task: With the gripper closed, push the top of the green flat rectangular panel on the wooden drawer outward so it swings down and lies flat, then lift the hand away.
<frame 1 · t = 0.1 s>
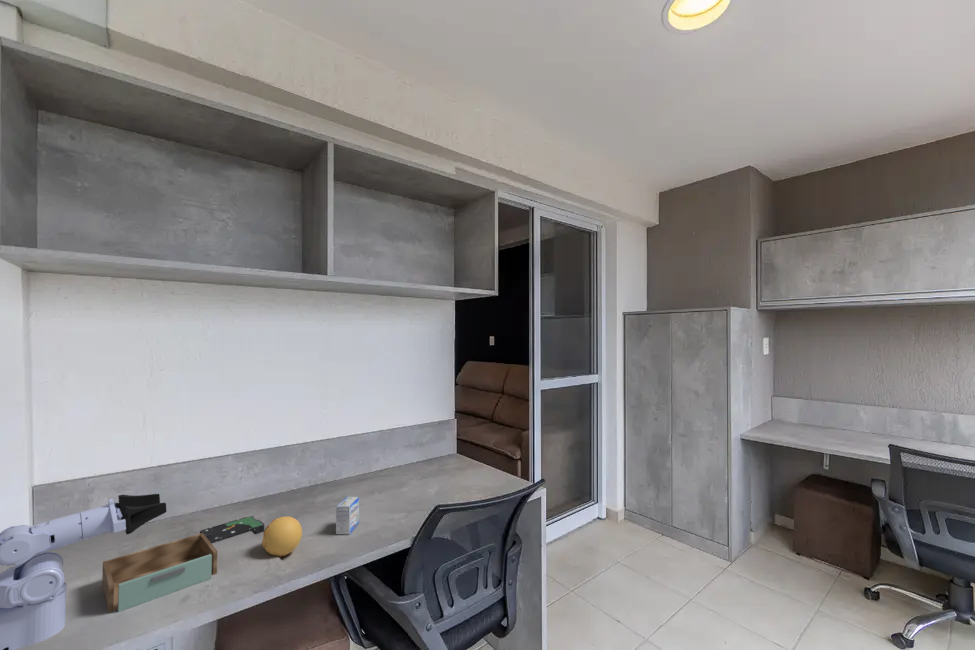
hand: (162, 502, 97), 22 cm above the table, tool horizontal, fingers open, 7 cm apart
wooden drawer: (160, 585, 100), on the table
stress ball: (282, 554, 115), on the table
disk drive: (232, 536, 126), on the table
green flat rectangular panel: (168, 581, 95), point 4 cm above the table, hinge at 0.0°
medicine box: (347, 529, 130), on the table
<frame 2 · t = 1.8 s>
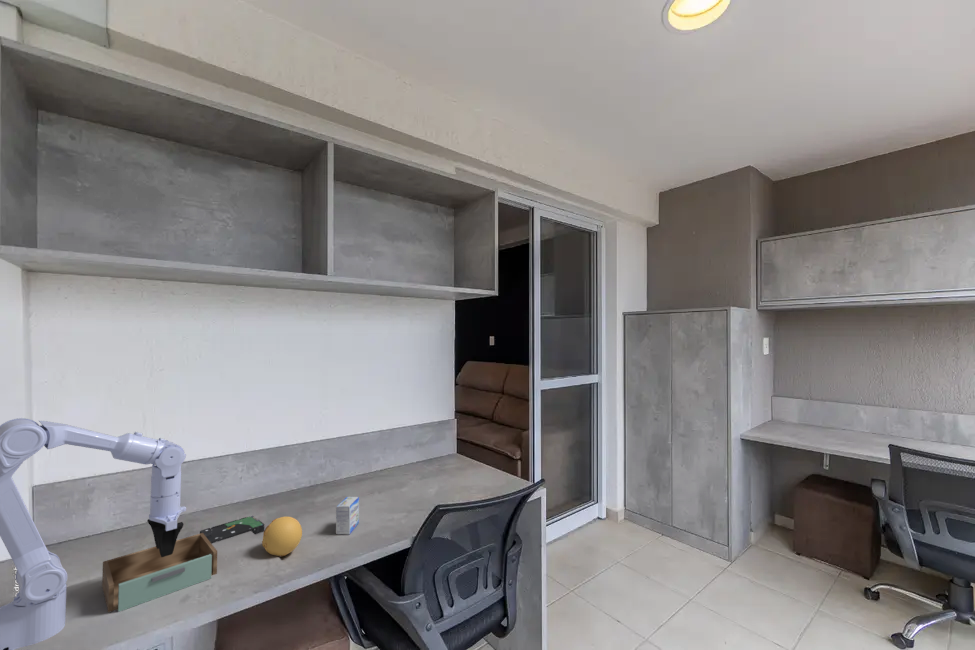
hand: (164, 551, 98), 9 cm above the table, tool pointing down, fingers open, 5 cm apart
nothing on the table moved.
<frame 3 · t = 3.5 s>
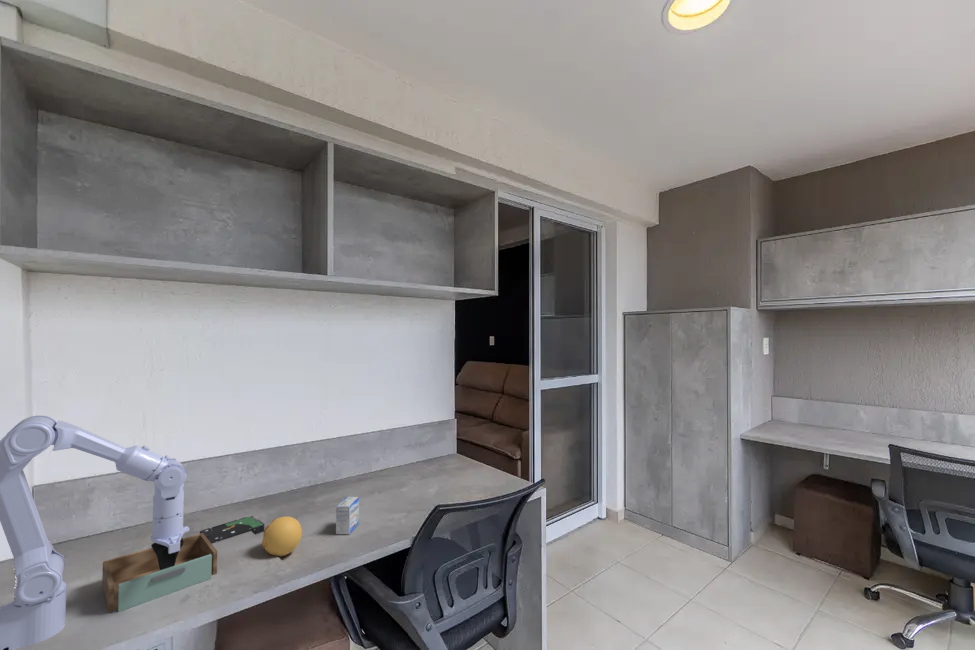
hand: (166, 573, 96), 6 cm above the table, tool pointing down, fingers closed, pressing on green flat rectangular panel
green flat rectangular panel: (168, 581, 95), point 4 cm above the table, hinge at 0.1°, touching gripper
everything else where it was.
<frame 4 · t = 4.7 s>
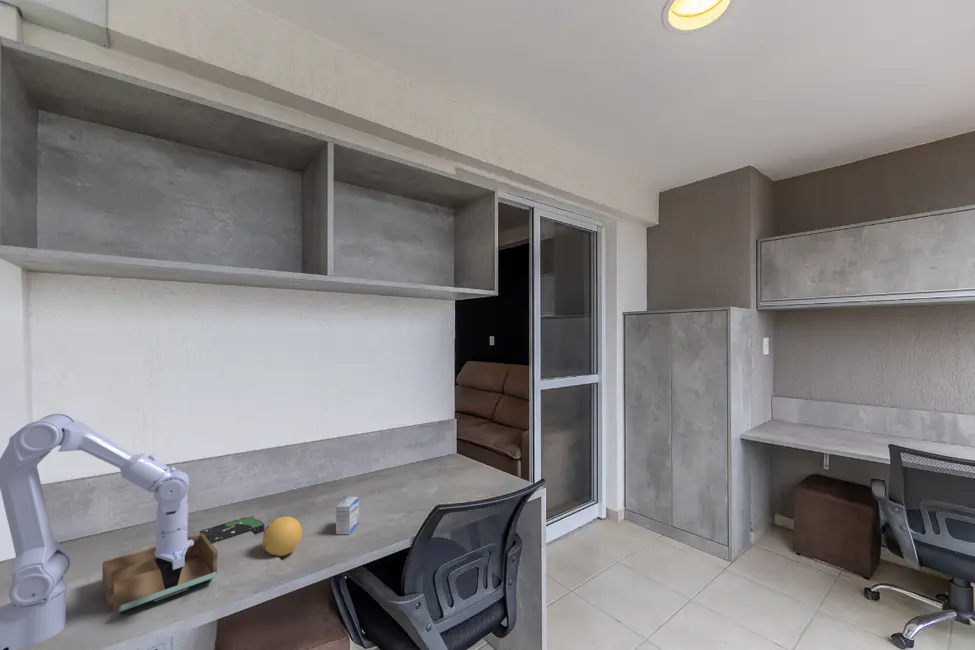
hand: (171, 588, 93), 4 cm above the table, tool pointing down, fingers closed, pressing on green flat rectangular panel
green flat rectangular panel: (169, 592, 93), point 3 cm above the table, hinge at 60.3°, touching gripper
everything else where it was.
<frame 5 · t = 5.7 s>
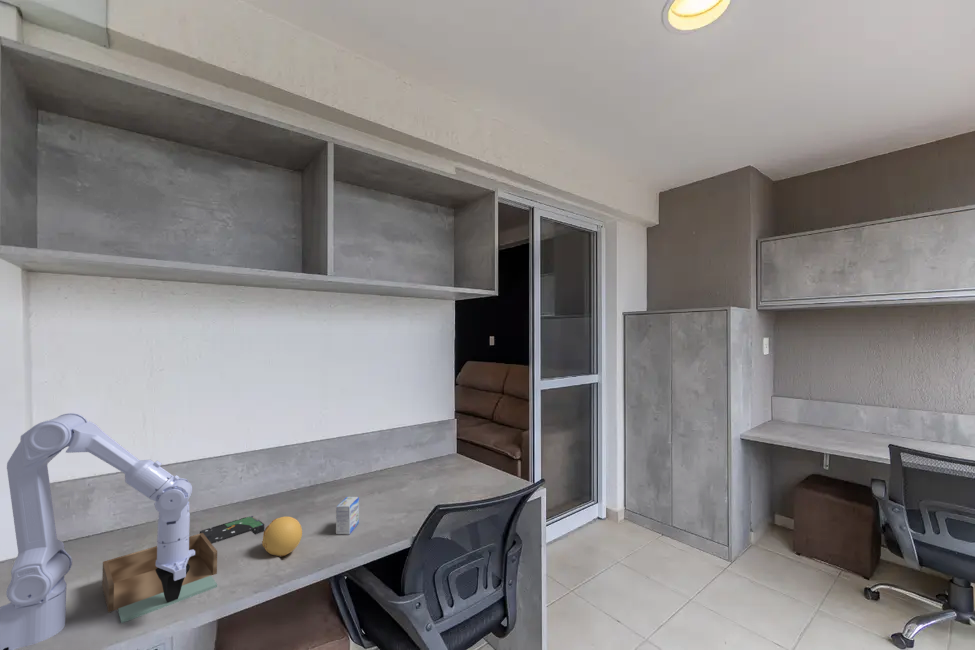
hand: (172, 599, 92), 2 cm above the table, tool pointing down, fingers closed
green flat rectangular panel: (169, 599, 93), point 1 cm above the table, hinge at 89.1°
everything else where it was.
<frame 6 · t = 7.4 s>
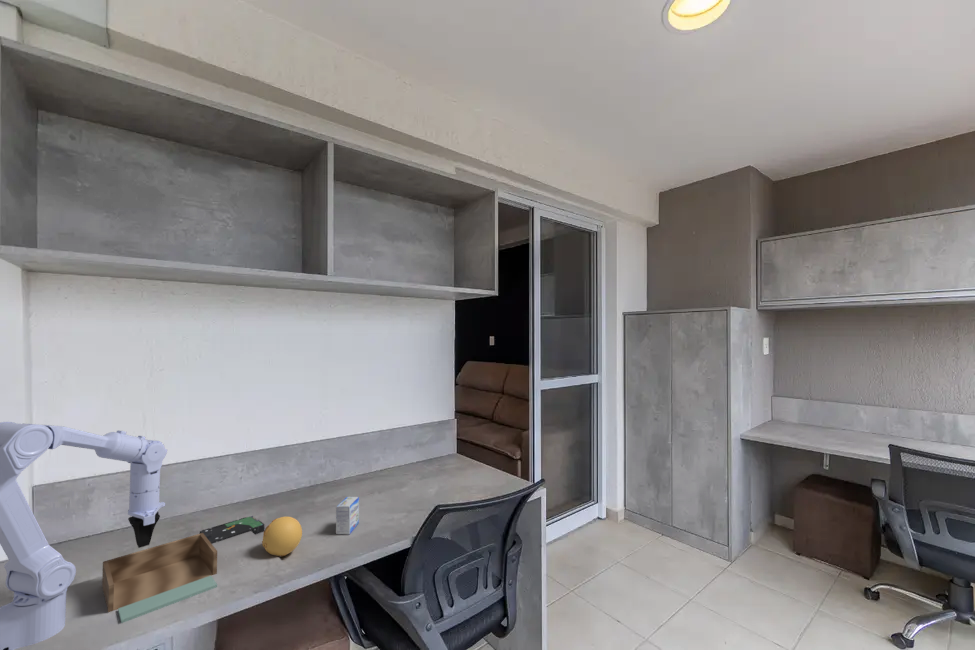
hand: (143, 545, 101), 9 cm above the table, tool pointing down, fingers closed
nothing on the table moved.
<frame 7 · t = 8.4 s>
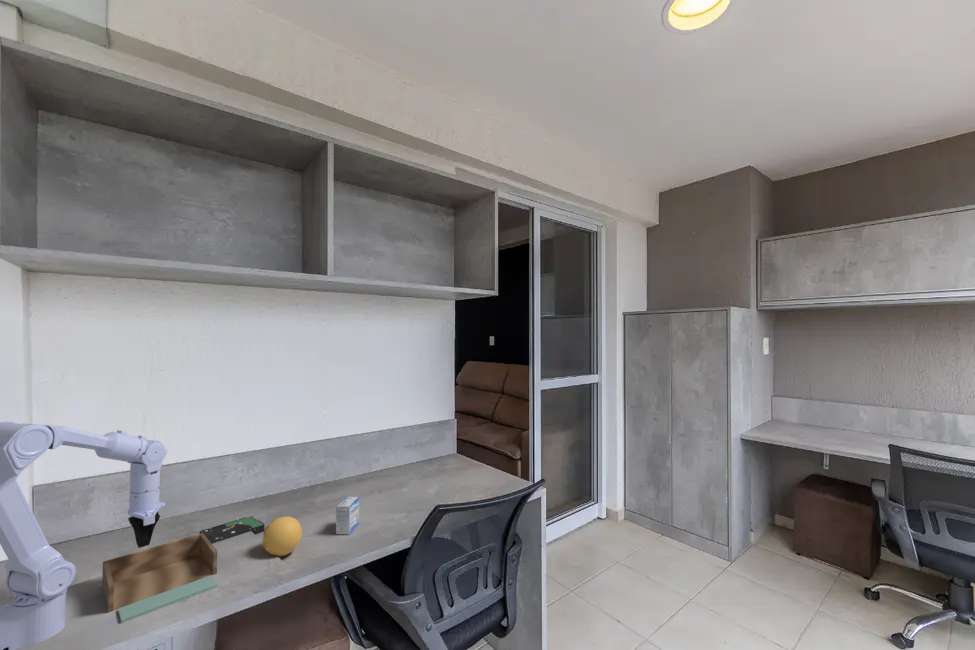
hand: (143, 545, 101), 9 cm above the table, tool pointing down, fingers closed
nothing on the table moved.
at the end: green flat rectangular panel at +89° (first picture: +0°); disk drive moved 0.8 cm from its start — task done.
